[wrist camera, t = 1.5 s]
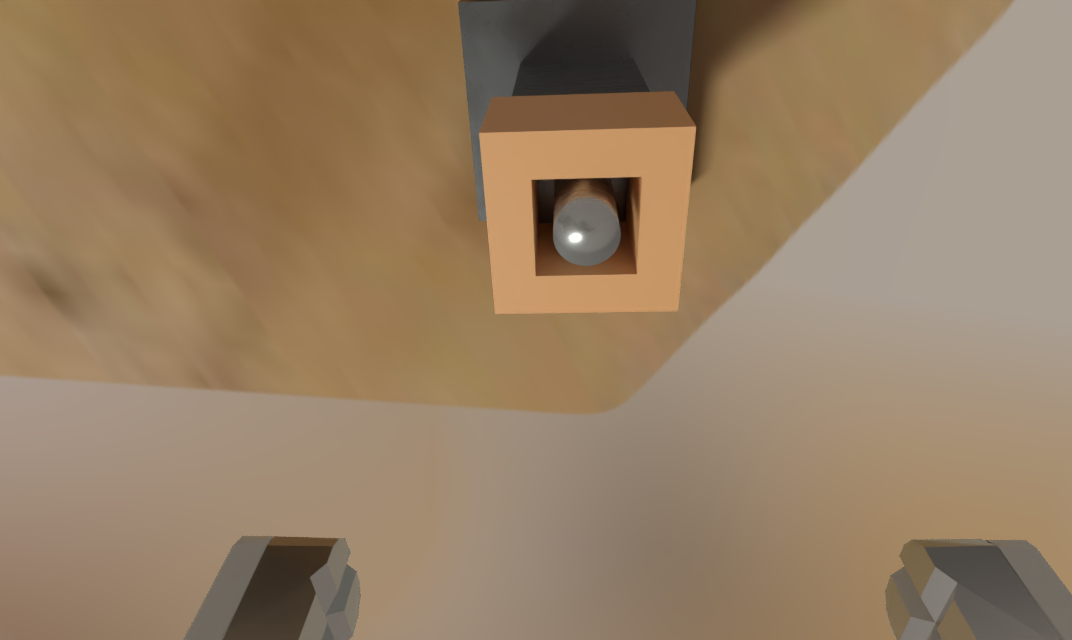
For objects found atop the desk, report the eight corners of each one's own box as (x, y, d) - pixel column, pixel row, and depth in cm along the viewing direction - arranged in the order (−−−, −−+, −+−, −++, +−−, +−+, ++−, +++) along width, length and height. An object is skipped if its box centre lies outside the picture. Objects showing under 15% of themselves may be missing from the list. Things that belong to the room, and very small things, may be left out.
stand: (483, 205, 34) (440, 371, 22) (464, -4, 28) (392, 63, 16) (671, 200, 33) (735, 368, 21) (688, -13, 28) (789, 49, 16)
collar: (504, 257, 24) (495, 313, 21) (492, 97, 21) (479, 132, 18) (661, 254, 24) (678, 311, 21) (673, 91, 21) (696, 126, 17)
